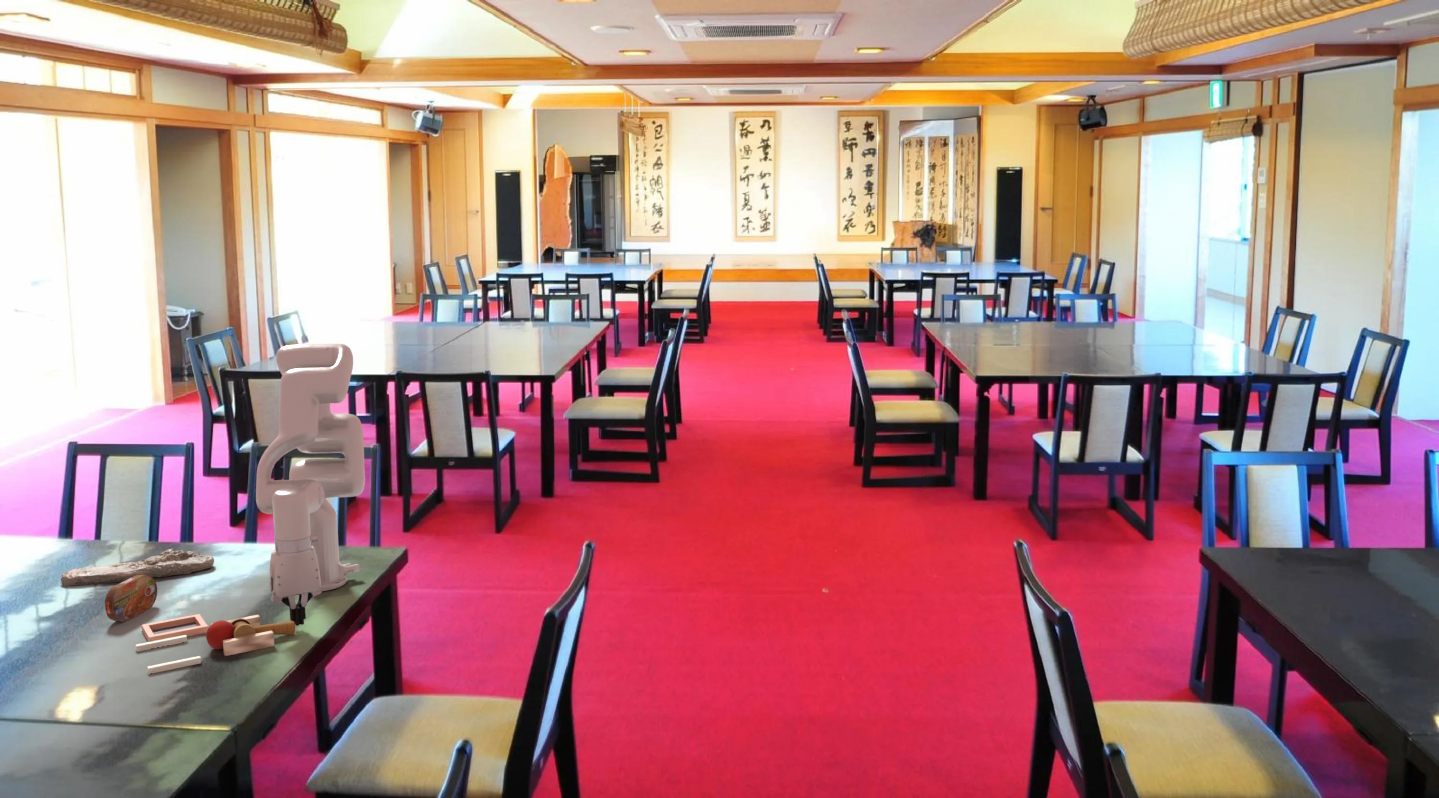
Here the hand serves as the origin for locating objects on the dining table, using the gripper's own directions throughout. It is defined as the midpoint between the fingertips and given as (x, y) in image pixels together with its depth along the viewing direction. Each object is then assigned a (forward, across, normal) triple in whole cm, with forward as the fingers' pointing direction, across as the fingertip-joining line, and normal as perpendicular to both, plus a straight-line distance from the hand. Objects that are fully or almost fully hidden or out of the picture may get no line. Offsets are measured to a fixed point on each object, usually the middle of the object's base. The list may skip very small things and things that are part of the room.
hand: (298, 623), depth 267 cm
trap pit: (+2, +23, -14) cm, 27 cm away
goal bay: (+2, +27, 0) cm, 27 cm away
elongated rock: (+2, +22, -61) cm, 65 cm away
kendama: (+2, +10, +1) cm, 11 cm away
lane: (+2, +12, 0) cm, 12 cm away
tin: (+2, +28, -32) cm, 43 cm away
